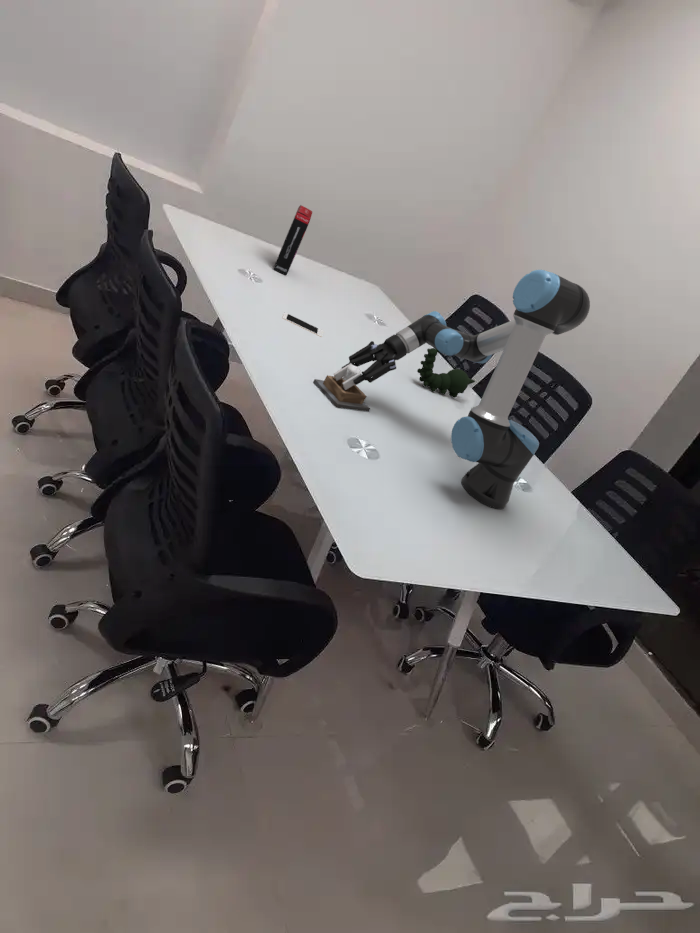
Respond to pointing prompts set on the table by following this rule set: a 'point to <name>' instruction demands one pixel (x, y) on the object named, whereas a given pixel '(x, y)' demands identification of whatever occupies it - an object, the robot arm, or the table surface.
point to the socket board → (342, 394)
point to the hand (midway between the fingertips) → (339, 381)
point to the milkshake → (350, 375)
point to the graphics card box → (293, 240)
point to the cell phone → (302, 324)
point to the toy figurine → (442, 377)
